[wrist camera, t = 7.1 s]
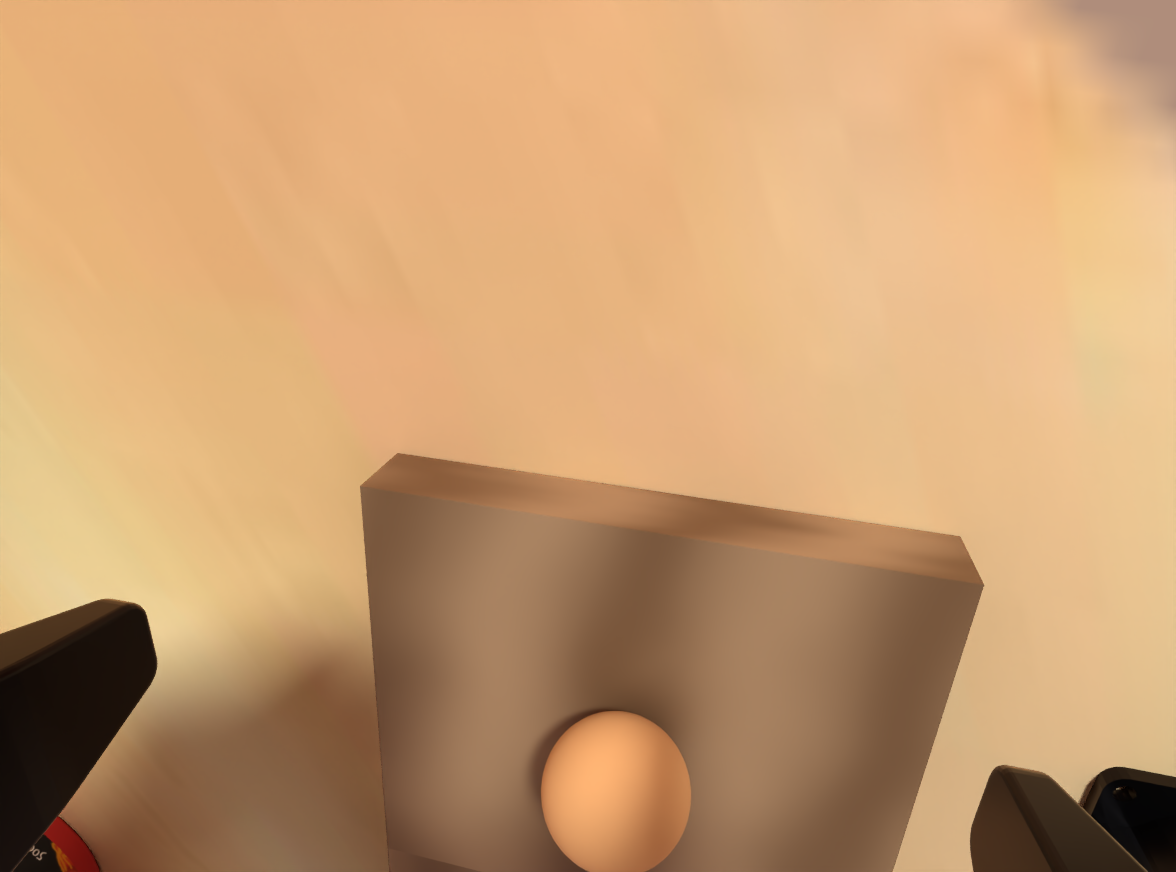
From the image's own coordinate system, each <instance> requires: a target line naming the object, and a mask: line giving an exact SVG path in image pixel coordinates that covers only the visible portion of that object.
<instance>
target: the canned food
mask: <svg viewBox="0 0 1176 872" xmlns="http://www.w3.org/2000/svg"><path fill="white" fill-rule="evenodd" d="M13 872H100V871H99V867H98V865H97V863H96V860H95V858H94V856H93V854H92V853H91V851H90V850H89V848H88V847H87V845H86V844H85V843H84V841H83V840H82V839H81V838H80V837H79V836H78V835H77V833H76V832H75V831H74V830H73V829H72V828H71V827H70V826H69V825H67V824H66V823H65V822H64V821H63V820H62V819H61V818H60V817H58V816H57V818H56V819H55V820H54V821H53V823H52V824H51V825H50V827H49V828H48V829H47V830H46V832H45V833H44V834H43V835H42V836H41V838H40V839H39V840H38V841H37V842H36V844H35V845H34V846H33V847H32V849H31V850H30V851H29V852H28V853H27V855H26V856H25V857H24V858H23V859H22V861H21V862H20V863H19V864H18V866H17V867H16V868H15V869H14V870H13Z"/></svg>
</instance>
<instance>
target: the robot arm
mask: <svg viewBox="0 0 1176 872" xmlns="http://www.w3.org/2000/svg"><path fill="white" fill-rule="evenodd" d="M156 670H157V656H156V652H155V648H154V644H153V639H152V635H151V631H150V627H149V623H148V618H147V615H146V612H145V610H144V609H143V608H142V607H141V606H140V605H138V604H136V603H131V602H126V601H120V600H115V599H101V600H97V601H94V602H91V603H88V604H86V605H83V606H80V607H77V608H74V609H71V610H68V611H65V612H62V613H60V614H57V615H54V616H51V617H48V618H45V619H42V620H39V621H36V622H33V623H31V624H28V625H25V626H22V627H19V628H16V629H13V630H10V631H7V632H5V633H2V634H0V872H13V870H14V869H15V868H16V867H17V866H18V864H19V863H20V862H21V861H22V859H23V858H24V857H25V856H26V855H27V853H28V852H29V851H30V850H31V849H32V847H33V846H34V845H35V844H36V842H37V841H38V840H39V839H40V838H41V836H42V835H43V834H44V833H45V832H46V830H47V829H48V828H49V827H50V825H51V824H52V823H53V821H54V820H55V819H56V818H57V816H58V815H59V814H60V813H61V811H62V810H63V809H64V808H65V806H66V805H67V803H68V802H69V801H70V799H71V798H72V796H73V795H74V794H75V792H76V791H77V790H78V788H79V787H80V785H81V784H82V783H83V781H84V780H85V778H86V777H87V775H88V774H89V772H90V771H91V770H92V768H93V767H94V765H95V764H96V762H97V761H98V760H99V758H100V757H101V755H102V754H103V752H104V751H105V749H106V748H107V747H108V745H109V744H110V742H111V741H112V739H113V738H114V737H115V735H116V734H117V732H118V731H119V729H120V728H121V726H122V725H123V724H124V722H125V721H126V719H127V718H128V716H129V715H130V714H131V712H132V711H133V709H134V708H135V706H136V705H137V703H138V702H139V701H140V699H141V698H142V696H143V695H144V693H145V692H146V691H147V689H148V688H149V686H150V685H151V683H152V681H153V679H154V677H155V674H156ZM1122 786H1127V787H1126V788H1124V789H1121V790H1116V788H1119V787H1122ZM970 850H971V858H972V865H973V871H974V872H1176V777H1172V776H1167V775H1162V774H1157V773H1151V772H1146V771H1141V770H1136V769H1131V768H1126V767H1113V768H1108V769H1106V770H1104V771H1102V772H1100V774H1099V775H1098V776H1097V778H1096V780H1095V782H1094V784H1093V786H1092V789H1091V791H1090V793H1089V795H1088V797H1087V800H1086V802H1085V804H1084V806H1083V808H1082V807H1081V806H1080V805H1079V804H1078V803H1077V802H1076V801H1075V800H1074V799H1073V798H1072V797H1071V796H1070V795H1069V794H1068V793H1067V792H1066V791H1065V790H1064V789H1063V788H1062V787H1061V786H1060V785H1059V784H1058V783H1057V782H1056V781H1054V780H1053V779H1052V778H1051V777H1050V776H1048V775H1046V774H1045V773H1042V772H1039V771H1034V770H1029V769H1024V768H1018V767H1013V766H1008V765H1001V766H997V767H996V768H995V769H994V770H993V771H992V773H991V775H990V777H989V779H988V782H987V785H986V788H985V790H984V793H983V796H982V799H981V801H980V804H979V807H978V810H977V812H976V815H975V818H974V821H973V824H972V828H971V834H970Z"/></svg>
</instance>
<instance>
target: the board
mask: <svg viewBox="0 0 1176 872" xmlns="http://www.w3.org/2000/svg"><path fill="white" fill-rule="evenodd" d="M360 490H361V503H362V516H363V529H364V542H365V555H366V569H367V582H368V595H369V608H370V621H371V634H372V647H373V660H374V673H375V686H376V699H377V712H378V725H379V739H380V752H381V765H382V778H383V791H384V804H385V817H386V830H387V843H388V856H389V869H390V872H588V871H586V870H584V869H583V868H581V867H579V866H578V865H576V864H575V863H574V862H573V861H571V860H570V859H569V858H568V857H567V856H566V855H565V854H564V853H563V852H562V851H561V850H560V848H559V847H558V845H557V844H556V842H555V841H554V839H553V838H552V836H551V834H550V832H549V829H548V827H547V824H546V822H545V818H544V814H543V809H542V802H541V784H542V776H543V772H544V768H545V765H546V761H547V759H548V757H549V754H550V752H551V751H552V749H553V747H554V745H555V744H556V742H557V741H558V740H559V738H560V737H561V736H562V735H563V734H564V733H565V732H566V731H567V730H568V729H569V728H570V727H571V726H573V725H574V724H575V723H577V722H578V721H580V720H581V719H583V718H586V717H588V716H590V715H593V714H596V713H599V712H605V711H624V712H630V713H634V714H637V715H640V716H642V717H644V718H646V719H648V720H650V721H651V722H653V723H655V724H656V725H657V726H659V727H660V728H661V729H662V730H664V731H665V732H666V733H667V734H668V736H669V737H670V738H671V739H672V741H673V742H674V743H675V744H676V746H677V748H678V749H679V751H680V753H681V755H682V757H683V759H684V761H685V764H686V767H687V770H688V774H689V778H690V786H691V807H690V813H689V817H688V821H687V824H686V827H685V830H684V832H683V834H682V837H681V838H680V840H679V842H678V844H677V845H676V846H675V848H674V849H673V850H672V852H671V853H670V854H669V855H668V856H667V857H666V858H665V859H664V860H663V861H662V862H660V863H659V864H658V865H656V866H655V867H653V868H652V869H650V870H648V871H646V872H892V871H893V868H894V865H895V862H896V859H897V856H898V853H899V850H900V846H901V843H902V840H903V837H904V834H905V831H906V828H907V825H908V821H909V818H910V815H911V812H912V809H913V806H914V803H915V799H916V796H917V793H918V790H919V787H920V784H921V781H922V778H923V774H924V771H925V768H926V765H927V762H928V759H929V756H930V753H931V749H932V746H933V743H934V740H935V737H936V734H937V731H938V727H939V724H940V721H941V718H942V715H943V712H944V709H945V706H946V702H947V699H948V696H949V693H950V690H951V687H952V684H953V680H954V677H955V674H956V671H957V668H958V665H959V662H960V659H961V655H962V652H963V649H964V646H965V643H966V640H967V637H968V634H969V630H970V627H971V624H972V621H973V618H974V615H975V612H976V608H977V605H978V602H979V599H980V596H981V593H982V590H983V587H984V584H983V582H982V580H981V578H980V576H979V574H978V572H977V570H976V568H975V565H974V563H973V561H972V559H971V557H970V555H969V553H968V551H967V549H966V547H965V545H964V543H963V541H962V539H961V537H959V536H953V535H946V534H939V533H932V532H926V531H919V530H912V529H905V528H899V527H892V526H885V525H878V524H872V523H865V522H858V521H851V520H845V519H838V518H831V517H824V516H818V515H811V514H804V513H797V512H791V511H784V510H777V509H770V508H764V507H757V506H750V505H743V504H737V503H730V502H723V501H716V500H710V499H703V498H696V497H689V496H683V495H676V494H669V493H662V492H656V491H649V490H642V489H635V488H629V487H622V486H615V485H608V484H602V483H595V482H588V481H581V480H575V479H568V478H561V477H554V476H548V475H541V474H534V473H527V472H521V471H514V470H507V469H500V468H494V467H487V466H480V465H473V464H467V463H460V462H453V461H446V460H440V459H433V458H426V457H419V456H413V455H406V454H399V453H397V454H396V455H395V456H394V457H393V458H392V459H391V460H389V461H388V462H387V463H386V464H385V465H384V466H383V467H381V468H380V469H379V470H378V471H377V472H376V473H375V474H373V475H372V476H371V477H370V478H369V479H368V480H367V481H365V482H364V483H363V484H362V485H361V486H360Z"/></svg>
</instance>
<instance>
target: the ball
mask: <svg viewBox="0 0 1176 872" xmlns="http://www.w3.org/2000/svg"><path fill="white" fill-rule="evenodd" d="M541 802H542V809H543V814H544V818H545V822H546V824H547V827H548V829H549V832H550V834H551V836H552V838H553V839H554V841H555V842H556V844H557V845H558V847H559V848H560V850H561V851H562V852H563V853H564V854H565V855H566V856H567V857H568V858H569V859H570V860H571V861H573V862H574V863H575V864H576V865H578V866H579V867H581V868H583V869H584V870H586V871H588V872H646V871H648V870H650V869H652V868H653V867H655V866H656V865H658V864H659V863H660V862H662V861H663V860H664V859H665V858H666V857H667V856H668V855H669V854H670V853H671V852H672V850H673V849H674V848H675V846H676V845H677V844H678V842H679V840H680V838H681V837H682V834H683V832H684V830H685V827H686V824H687V821H688V817H689V813H690V807H691V786H690V778H689V774H688V770H687V767H686V764H685V761H684V759H683V757H682V755H681V753H680V751H679V749H678V748H677V746H676V744H675V743H674V742H673V741H672V739H671V738H670V737H669V736H668V734H667V733H666V732H665V731H664V730H662V729H661V728H660V727H659V726H657V725H656V724H655V723H653V722H651V721H650V720H648V719H646V718H644V717H642V716H640V715H637V714H634V713H630V712H624V711H605V712H599V713H596V714H593V715H590V716H588V717H586V718H583V719H581V720H580V721H578V722H577V723H575V724H574V725H573V726H571V727H570V728H569V729H568V730H567V731H566V732H565V733H564V734H563V735H562V736H561V737H560V738H559V740H558V741H557V742H556V744H555V745H554V747H553V749H552V751H551V752H550V754H549V757H548V759H547V761H546V765H545V768H544V772H543V776H542V784H541Z"/></svg>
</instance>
